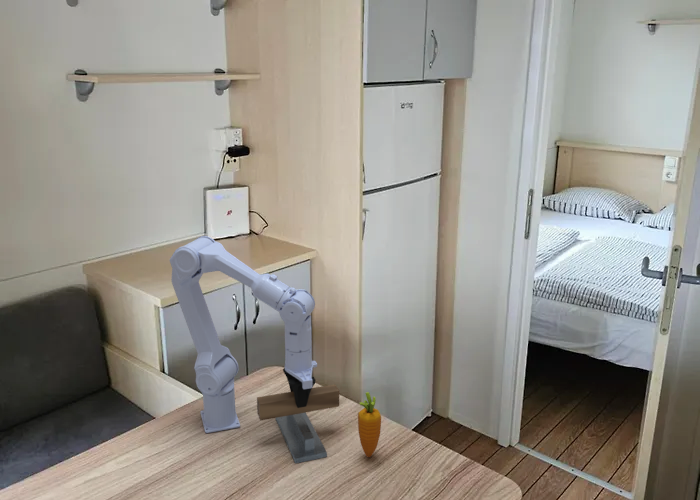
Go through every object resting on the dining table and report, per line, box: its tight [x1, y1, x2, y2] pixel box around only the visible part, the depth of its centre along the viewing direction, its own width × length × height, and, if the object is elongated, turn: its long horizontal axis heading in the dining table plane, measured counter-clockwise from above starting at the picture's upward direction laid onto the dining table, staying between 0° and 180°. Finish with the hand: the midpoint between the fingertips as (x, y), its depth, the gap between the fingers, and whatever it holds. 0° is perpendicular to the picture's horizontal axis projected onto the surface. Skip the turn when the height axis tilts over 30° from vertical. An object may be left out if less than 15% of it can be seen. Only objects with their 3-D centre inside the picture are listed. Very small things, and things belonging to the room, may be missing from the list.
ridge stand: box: [275, 412, 328, 465], centre depth 143 cm, size 18×7×5 cm, turn 20°
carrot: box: [357, 391, 382, 458], centre depth 134 cm, size 5×5×15 cm
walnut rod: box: [256, 383, 340, 421], centre depth 141 cm, size 3×18×4 cm, turn 110°
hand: (299, 402), depth 141 cm, fingers closed on walnut rod, 3 cm apart
